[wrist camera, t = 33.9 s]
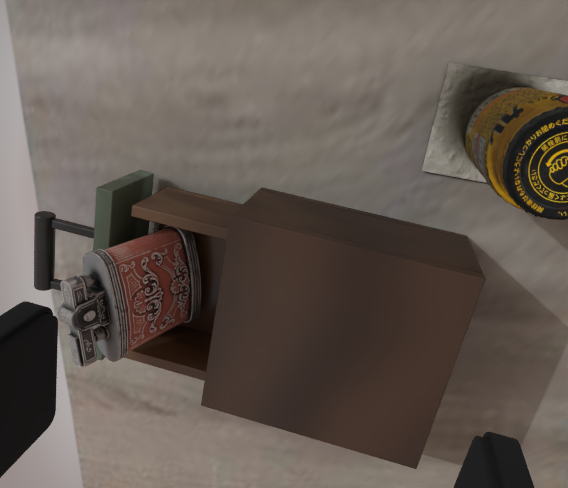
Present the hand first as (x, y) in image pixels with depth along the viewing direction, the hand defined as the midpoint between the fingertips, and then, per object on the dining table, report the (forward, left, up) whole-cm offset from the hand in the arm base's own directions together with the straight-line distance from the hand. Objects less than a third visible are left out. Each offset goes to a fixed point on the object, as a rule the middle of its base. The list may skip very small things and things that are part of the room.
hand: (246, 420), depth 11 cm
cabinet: (+10, +2, -28) cm, 30 cm away
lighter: (+10, -10, -26) cm, 29 cm away
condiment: (-5, +9, -28) cm, 30 cm away
